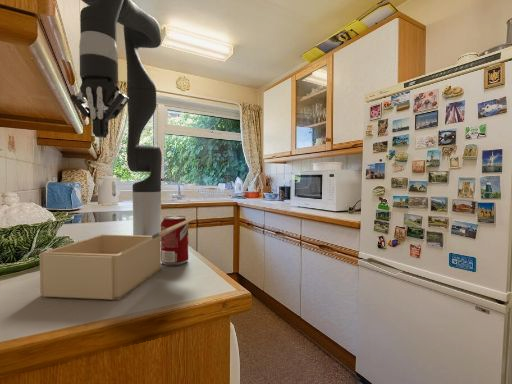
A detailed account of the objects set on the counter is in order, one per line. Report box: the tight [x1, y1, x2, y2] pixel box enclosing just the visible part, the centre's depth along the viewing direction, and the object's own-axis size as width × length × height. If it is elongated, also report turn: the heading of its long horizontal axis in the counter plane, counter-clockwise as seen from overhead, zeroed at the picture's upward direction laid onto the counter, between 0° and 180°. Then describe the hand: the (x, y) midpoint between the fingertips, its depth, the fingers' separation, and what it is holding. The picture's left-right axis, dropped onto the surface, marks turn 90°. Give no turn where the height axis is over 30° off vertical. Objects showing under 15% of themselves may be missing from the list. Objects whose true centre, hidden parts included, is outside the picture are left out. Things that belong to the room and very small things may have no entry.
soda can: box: [160, 214, 189, 267], centre depth 70 cm, size 7×7×12 cm
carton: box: [38, 234, 162, 301], centre depth 57 cm, size 18×15×8 cm
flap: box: [121, 216, 197, 255], centre depth 56 cm, size 16×1×10 cm
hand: (100, 137), depth 62 cm, fingers closed
